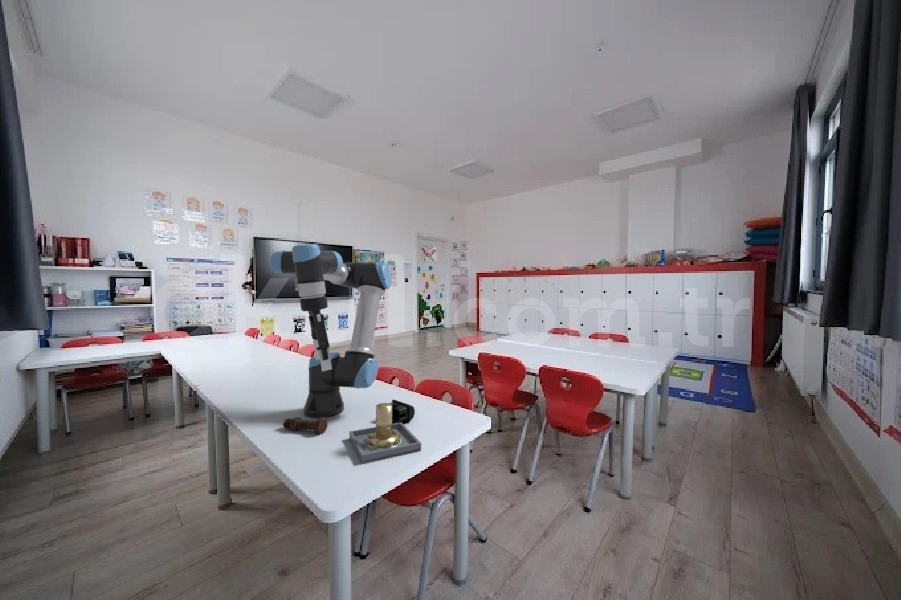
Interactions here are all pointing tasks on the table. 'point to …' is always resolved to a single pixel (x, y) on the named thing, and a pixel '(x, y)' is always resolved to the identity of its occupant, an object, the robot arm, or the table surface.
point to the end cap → (402, 412)
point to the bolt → (306, 424)
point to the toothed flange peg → (383, 429)
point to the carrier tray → (369, 454)
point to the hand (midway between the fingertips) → (323, 364)
